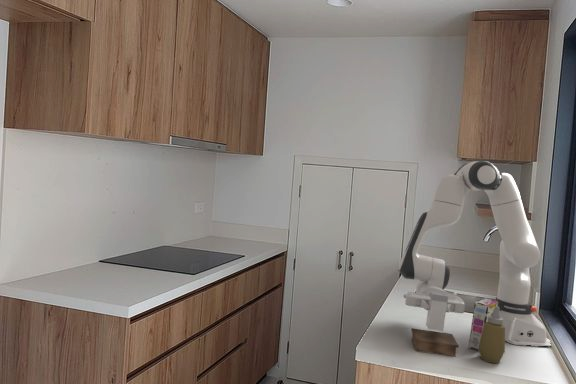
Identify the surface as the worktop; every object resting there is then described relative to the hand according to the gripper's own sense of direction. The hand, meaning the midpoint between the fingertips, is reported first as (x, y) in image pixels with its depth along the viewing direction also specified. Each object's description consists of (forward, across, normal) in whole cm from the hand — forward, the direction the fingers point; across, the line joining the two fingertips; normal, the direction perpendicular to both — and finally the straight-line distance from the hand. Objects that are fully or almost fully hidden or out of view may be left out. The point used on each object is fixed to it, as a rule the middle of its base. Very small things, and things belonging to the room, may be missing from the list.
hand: (437, 308), depth 178 cm
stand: (-1, 0, +14) cm, 14 cm away
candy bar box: (-10, +18, +14) cm, 25 cm away
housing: (-1, 0, +7) cm, 7 cm away
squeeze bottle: (+3, +18, +14) cm, 23 cm away
